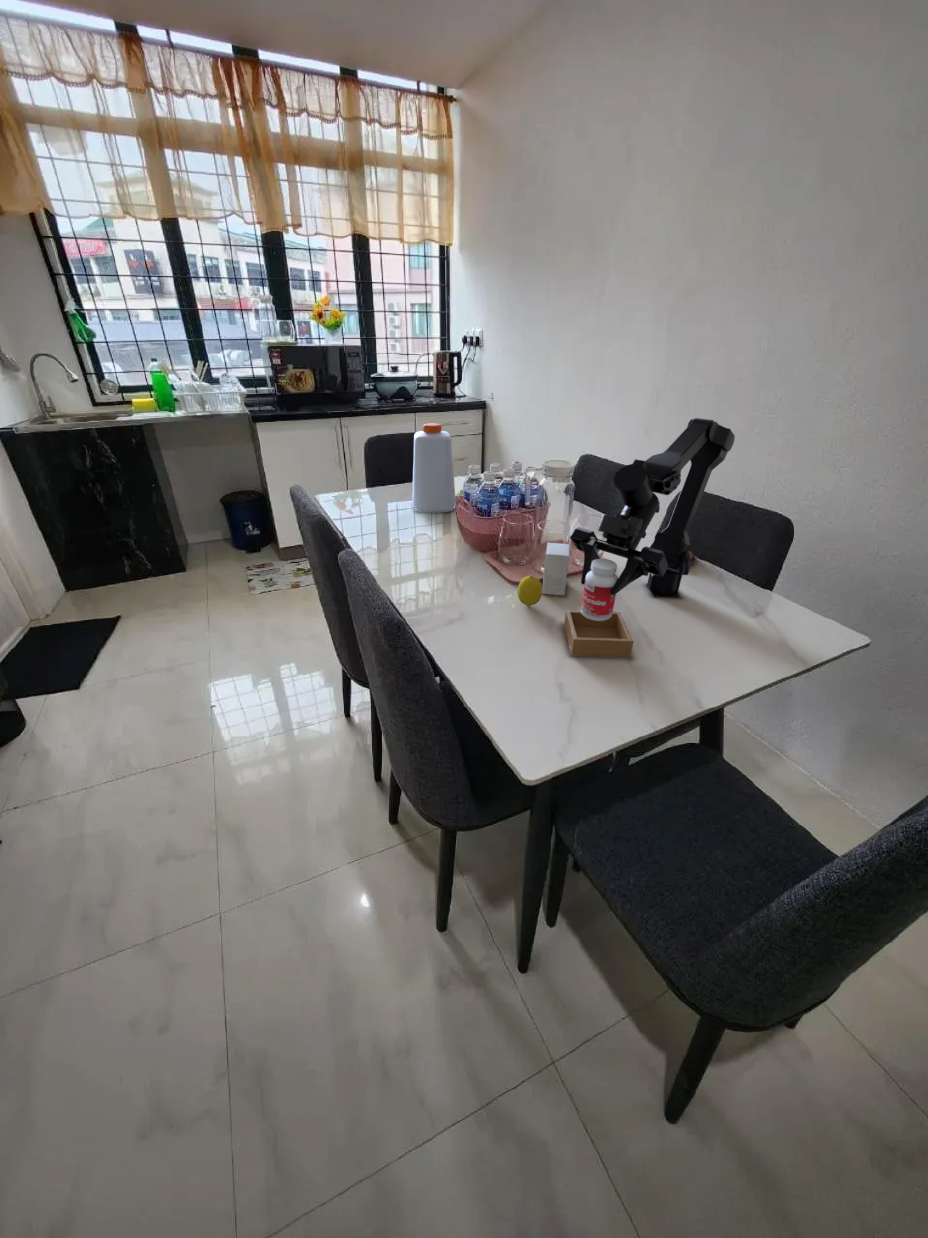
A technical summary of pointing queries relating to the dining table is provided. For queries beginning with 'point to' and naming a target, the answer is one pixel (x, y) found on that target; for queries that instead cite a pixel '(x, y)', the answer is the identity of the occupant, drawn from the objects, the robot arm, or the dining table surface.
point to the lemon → (529, 590)
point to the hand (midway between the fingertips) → (596, 588)
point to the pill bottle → (599, 590)
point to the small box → (556, 568)
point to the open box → (597, 636)
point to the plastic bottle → (433, 470)
